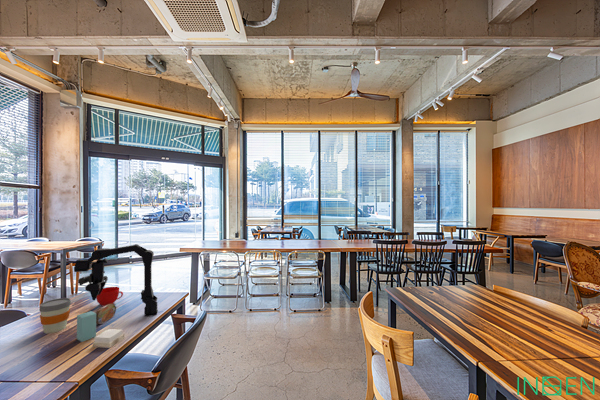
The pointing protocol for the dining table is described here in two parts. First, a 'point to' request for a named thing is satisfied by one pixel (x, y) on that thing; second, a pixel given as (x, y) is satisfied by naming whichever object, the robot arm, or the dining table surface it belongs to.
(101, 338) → the tower top
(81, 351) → the dining table surface
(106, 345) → the tower base
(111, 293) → the ceramic cup
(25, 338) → the dining table surface
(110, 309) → the tin
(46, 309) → the reusable coffee cup
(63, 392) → the dining table surface
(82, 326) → the teal pillar
